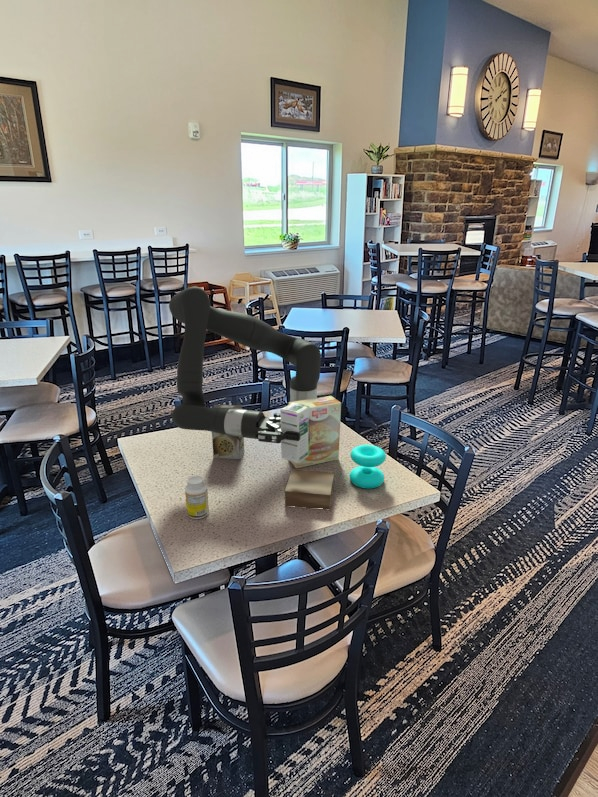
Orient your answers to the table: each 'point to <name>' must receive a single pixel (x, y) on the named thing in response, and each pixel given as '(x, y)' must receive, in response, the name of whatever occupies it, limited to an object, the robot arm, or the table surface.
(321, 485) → the walnut riser
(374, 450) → the donuts
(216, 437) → the coffee box
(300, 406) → the syrup box
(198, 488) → the supplement bottle
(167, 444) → the table surface
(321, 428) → the coffeecake box
